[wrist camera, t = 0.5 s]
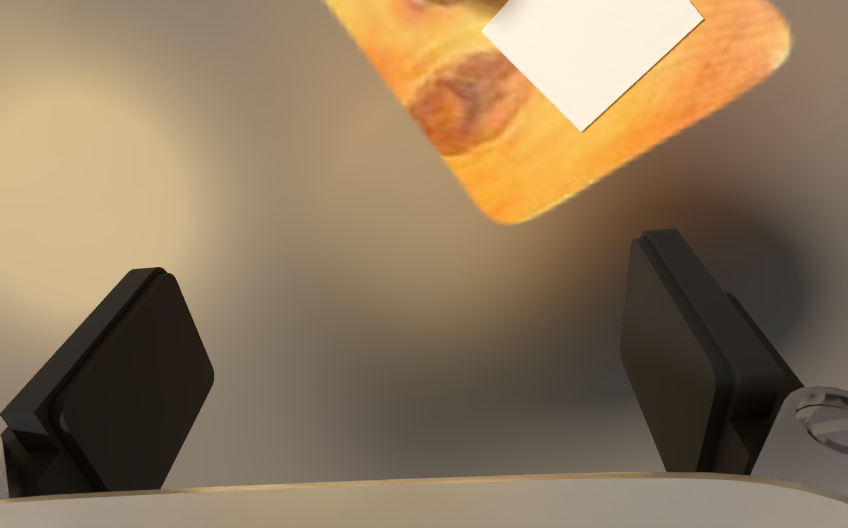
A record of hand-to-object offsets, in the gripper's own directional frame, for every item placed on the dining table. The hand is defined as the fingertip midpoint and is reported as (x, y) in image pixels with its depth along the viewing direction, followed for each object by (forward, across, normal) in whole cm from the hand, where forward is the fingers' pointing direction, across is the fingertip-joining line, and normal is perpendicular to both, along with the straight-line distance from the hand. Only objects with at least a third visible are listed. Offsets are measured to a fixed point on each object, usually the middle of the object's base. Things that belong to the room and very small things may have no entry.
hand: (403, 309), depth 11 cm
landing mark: (+30, -10, 0) cm, 31 cm away
